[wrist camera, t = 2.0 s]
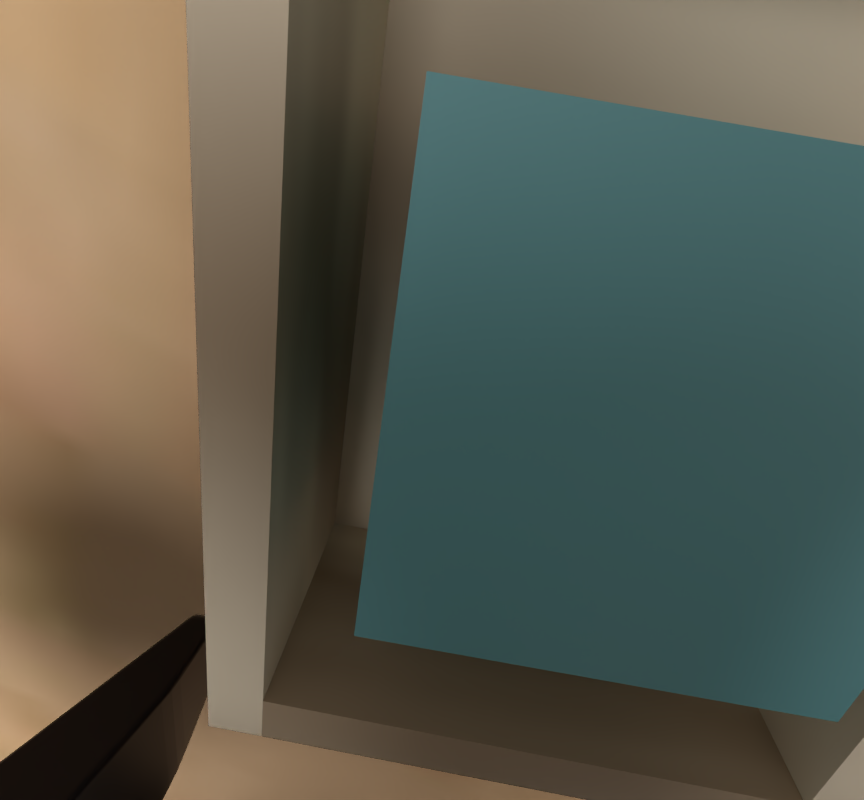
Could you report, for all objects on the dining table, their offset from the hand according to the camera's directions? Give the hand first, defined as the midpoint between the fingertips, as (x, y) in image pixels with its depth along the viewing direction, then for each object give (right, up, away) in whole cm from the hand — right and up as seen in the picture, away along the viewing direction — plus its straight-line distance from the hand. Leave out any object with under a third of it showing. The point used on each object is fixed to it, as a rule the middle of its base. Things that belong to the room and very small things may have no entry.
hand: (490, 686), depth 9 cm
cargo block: (+1, +6, -2) cm, 6 cm away
